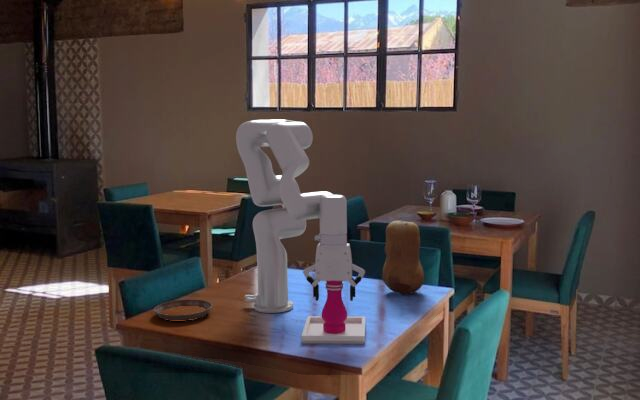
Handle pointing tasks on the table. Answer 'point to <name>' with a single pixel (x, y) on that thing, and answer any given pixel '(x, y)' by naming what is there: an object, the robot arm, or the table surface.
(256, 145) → the robot arm
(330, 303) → the pepper mill
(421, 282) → the butternut squash
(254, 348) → the table surface
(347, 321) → the tray
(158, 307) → the plant saucer
